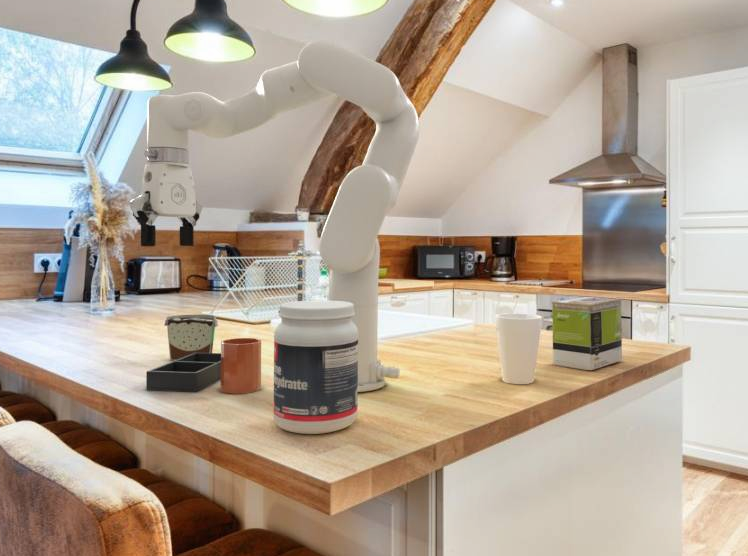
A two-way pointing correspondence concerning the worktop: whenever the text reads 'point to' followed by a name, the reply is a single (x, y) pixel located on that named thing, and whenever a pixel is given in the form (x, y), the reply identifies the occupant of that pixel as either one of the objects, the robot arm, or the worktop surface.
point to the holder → (186, 373)
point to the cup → (240, 365)
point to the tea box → (587, 332)
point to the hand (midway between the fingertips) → (168, 246)
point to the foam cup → (518, 346)
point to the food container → (190, 334)
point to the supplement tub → (315, 367)
